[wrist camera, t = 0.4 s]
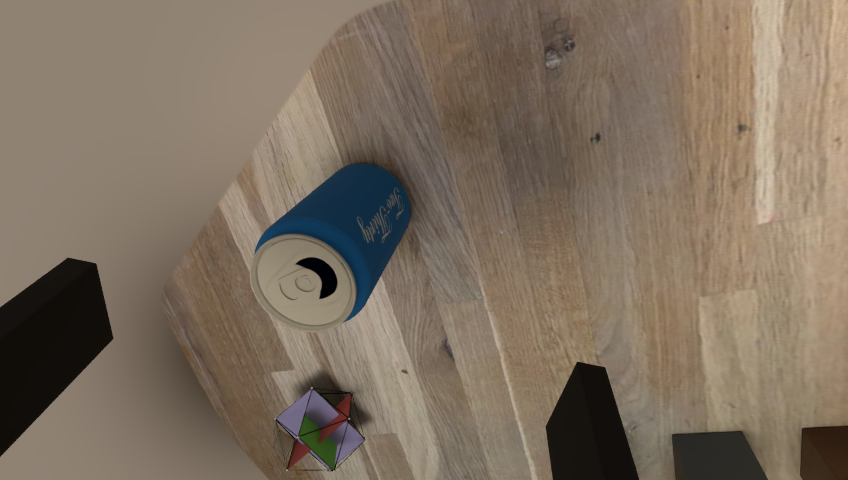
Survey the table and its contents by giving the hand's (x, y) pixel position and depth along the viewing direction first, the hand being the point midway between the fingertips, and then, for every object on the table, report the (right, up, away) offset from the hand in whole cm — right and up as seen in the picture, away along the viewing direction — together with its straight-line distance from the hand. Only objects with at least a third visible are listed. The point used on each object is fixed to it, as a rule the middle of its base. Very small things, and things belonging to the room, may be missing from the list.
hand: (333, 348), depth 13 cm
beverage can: (-1, +6, +21) cm, 22 cm away
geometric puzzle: (-6, -12, +30) cm, 33 cm away
